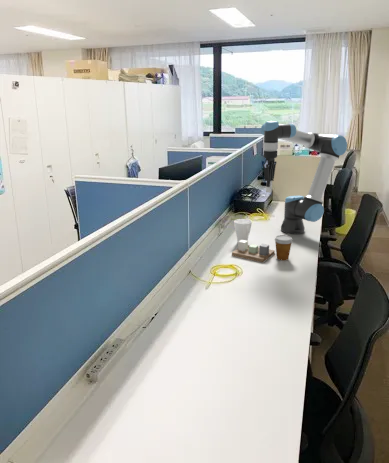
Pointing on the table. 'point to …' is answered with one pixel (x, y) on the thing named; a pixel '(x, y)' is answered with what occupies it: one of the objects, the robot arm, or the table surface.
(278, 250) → the disposable coffee cup
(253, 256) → the button board
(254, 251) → the pale green block
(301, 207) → the robot arm
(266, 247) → the gray button
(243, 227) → the cup
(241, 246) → the white block
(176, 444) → the table surface
